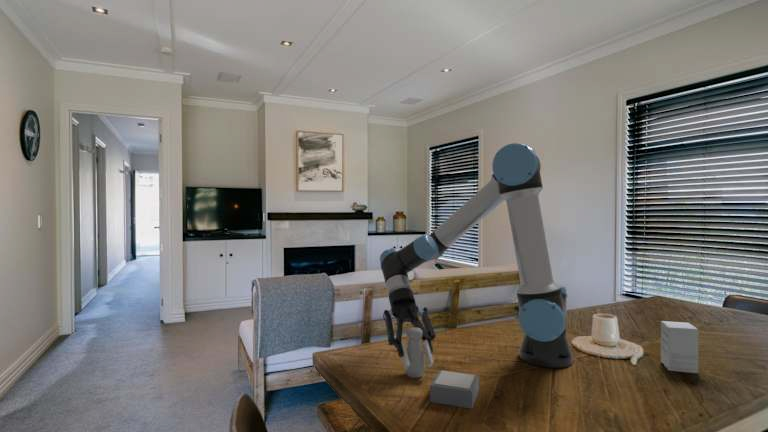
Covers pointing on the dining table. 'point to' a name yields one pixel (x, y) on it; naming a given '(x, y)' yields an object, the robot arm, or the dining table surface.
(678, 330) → the supplement box
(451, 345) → the dining table surface
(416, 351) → the salt shaker
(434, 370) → the dining table surface
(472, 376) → the slate plinth
